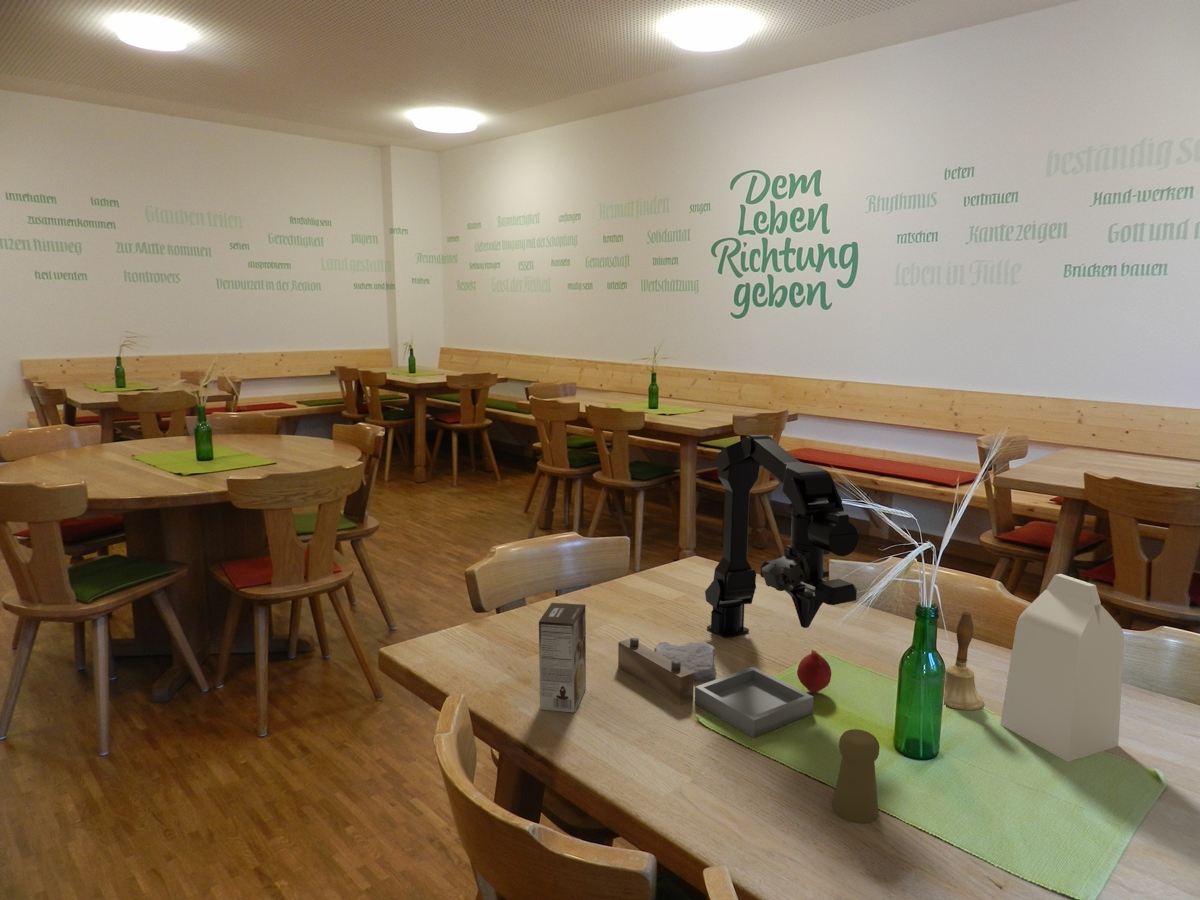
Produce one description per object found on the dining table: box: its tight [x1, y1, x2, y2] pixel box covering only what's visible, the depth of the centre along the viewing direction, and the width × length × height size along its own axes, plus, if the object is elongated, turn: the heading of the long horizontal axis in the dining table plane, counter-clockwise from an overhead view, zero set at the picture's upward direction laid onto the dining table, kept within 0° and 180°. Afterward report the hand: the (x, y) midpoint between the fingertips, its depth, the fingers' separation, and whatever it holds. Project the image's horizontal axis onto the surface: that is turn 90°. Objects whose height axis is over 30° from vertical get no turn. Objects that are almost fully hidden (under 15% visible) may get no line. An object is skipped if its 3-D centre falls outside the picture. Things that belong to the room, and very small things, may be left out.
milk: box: [999, 573, 1125, 763], centre depth 126 cm, size 12×12×26 cm
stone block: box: [653, 641, 717, 682], centre depth 152 cm, size 12×5×10 cm
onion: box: [796, 648, 832, 694], centre depth 142 cm, size 6×6×8 cm
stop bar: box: [617, 637, 695, 705], centre depth 146 cm, size 3×18×6 cm, turn 35°
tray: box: [694, 666, 815, 739], centre depth 137 cm, size 14×14×3 cm
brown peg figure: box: [831, 728, 880, 824], centre depth 108 cm, size 6×6×11 cm
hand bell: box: [943, 611, 985, 711], centre depth 139 cm, size 8×8×16 cm
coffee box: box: [538, 602, 587, 713], centre depth 138 cm, size 9×6×16 cm
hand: (804, 627), depth 142 cm, fingers closed
